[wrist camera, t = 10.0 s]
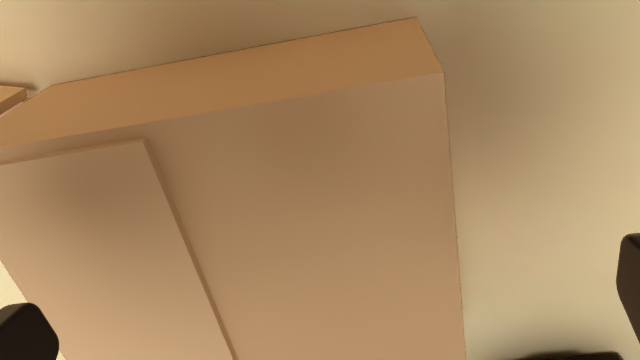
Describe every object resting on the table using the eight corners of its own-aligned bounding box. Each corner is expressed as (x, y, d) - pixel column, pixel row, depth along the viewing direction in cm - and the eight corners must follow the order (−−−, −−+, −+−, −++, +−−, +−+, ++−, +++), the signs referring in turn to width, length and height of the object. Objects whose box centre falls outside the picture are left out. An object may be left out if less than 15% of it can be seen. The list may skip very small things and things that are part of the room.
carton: (454, 394, 27) (479, 522, 21) (136, 417, 30) (87, 535, 24) (416, 17, 17) (445, 76, 12) (-53, 104, 20) (-207, 186, 14)
